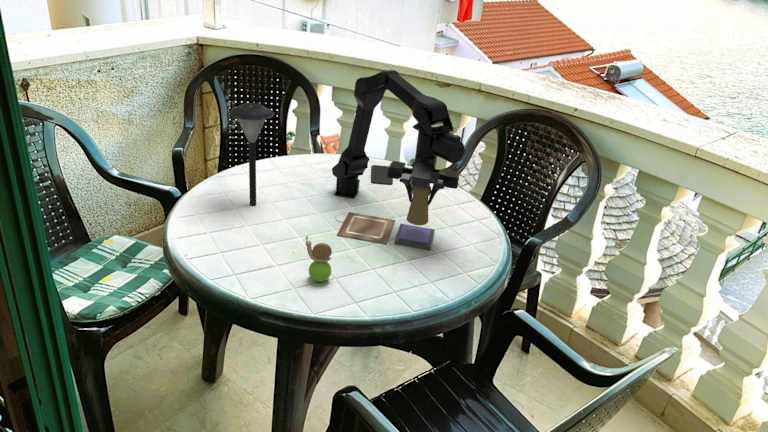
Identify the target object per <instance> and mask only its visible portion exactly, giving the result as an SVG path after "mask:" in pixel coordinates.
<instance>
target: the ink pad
mask: <svg viewBox="0 0 768 432" xmlns="http://www.w3.org/2000/svg"><path fill="white" fill-rule="evenodd" d="M435 231H436V229H434V228H430V227H429V228H428V227H422V226H419V225H413V224H411V225H409V224H406V223H400V224H399V226H398V229H397V232H396V236H395V238H394V242H393V244H394V245H397V246H403V247H409V248H414V249H420V250H427V251H431V248H432V244H433V239H434V237H435Z"/></svg>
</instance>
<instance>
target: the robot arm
mask: <svg viewBox="0 0 768 432" xmlns="http://www.w3.org/2000/svg"><path fill="white" fill-rule="evenodd" d="M387 90H388V91H389V92H390V93H392V94H393V95H394V96H395V97H396V98H398V100H400V101H401V102H402V103H403V104H404V105H406V107H408V108H409V109H410V110H411V113H412V117H413V118H414V120H416V122H417V123H416V124H414V125H412V128H413V129H415V130H416V131H417V132H418V133H417V139H416V147H415V148H416V149H415V156H414V162H413V164H412V167H411V168H410V167H406V162H403V161H396V160H392V161H391V162H390V163H389V165H388V166H389V168H388V172H387V177H388V178H393V180H394V179H395V180H399V182H400V183H402V184H404V187H405V190H406V191H407V192H406V193H407V196H408V200H409V201H408V202H409V203H411V201H412V197H413V193H412V187H413V186H422V187H425V188H427V187H429V186H430V187H431V193H430V195H429V196H428V206H430V204H431V203H432V202H433V199H434V198H435V196H436V194H437V192H438V191H439V190H444V189H445V188H449V189H454V190H455V189H458V186H459V180H460V175H461V174H460V172H459V171H457V170H452V169H445V171H444V172H441V171H440V169H437V168H436V167H437V161H438V158H440V159H442V160H444V161H446V162H448V163H450V164H454V165H455V164H457V163H459V162H460V161H461V160H462V159H463V157H464V155H465V151H466V149H465V145H464V142H462V137H461V136H459V135H457V134H454V133H451V132H454V130H455V129H454V126H453V122H452V120H451V116H450V113H449V111H448V106H447V104H446V103H445V102H444V101H442V100H440V99H438V98H436V97H432V96H430V95H426V94H424V93H423V92H421V91H420V90H418V89H417V87H415V86H414V85H412V84H411V83H410V82H409V81H407V80H406V79H405V78H404V77H403V76H402V75H400V73H399V71H397V70H394V69H389V70H388V69H387V70H382V71H380V72H378V73H376V74H373V75H370V76H364V77H363V76H362V77H359V78H358V79H356V81H355V83H354V93H353V96H354V99H355V102H356V104H357V106H356V110H355V114H354V118H353V123H352V129H351V133H350V137H349V141H348V146H347V147H346V148H345V149H344V150H343V151H342V153H341V154H340V157H339V160H338V163H336V164H335V165H334V166H333V167H332V168H331V172H332V176H333V177H336V182H335V183H336V186H335V192H334V196H337V197H338V196H339V197H345V198H350V199H355V198H356V196H357V195H358V194H359V191H360V183H361V182H360V181H361V180H360V179H359V176H363V175H364V174H365V172H366V169H368V167H369V166H368V165H369V162H370V157H369V156H368V155H367V153H366V150H365V149H366V145H367V140H368V137H369V132H370V128H371V124H372V120H373V115H374V112H375V108H376V107H377V106H378V105H379V103H381V101H382V100H383V98H384V96H385V93H386V91H387ZM437 125H438V126H437ZM431 184H432V186H431Z"/></svg>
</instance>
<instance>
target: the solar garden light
mask: <svg viewBox="0 0 768 432" xmlns="http://www.w3.org/2000/svg"><path fill="white" fill-rule="evenodd" d="M228 115H230V117H233V118H235V119H237V121H238V123H239V125H240V127H241V130H242V131H243V133H244V135H245V137H246V139H247V142H248V170H249V171H248V173H249V174H248V175H249V178H248V179H249V206H251V207H256V205H257V171H256V170H257V167H256V166H257V165H256V163H257V162H256V161H257V156H256V155H257V154H256V151H257V150H256V149H257V148H256V147H257V145H256V142H257V139H258V138H259V135H260V133H261V130H262V128H263V127H264V124H265V121H266V120H268V119H271V118H272V117H274V116H275V112H274V111H273V110H272V109H270V108H268V107H266V106H264V105H262V104H260V103H255V102H254V103H253V102H247V103H241V104H240V105H237V106H235V107H233V108H231V109H230V110H229V111H228Z"/></svg>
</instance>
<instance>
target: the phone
mask: <svg viewBox="0 0 768 432" xmlns="http://www.w3.org/2000/svg"><path fill="white" fill-rule="evenodd" d="M389 166H390V165H377V164H372V165H371V167H370V168H371V170H370V183H371V184H374V185H381V186H382V185H383V186H384V185H386V186H392V185H393V184H394V181H393V180H394V179H393V178H388V177H387V172H388V168H389Z"/></svg>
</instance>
